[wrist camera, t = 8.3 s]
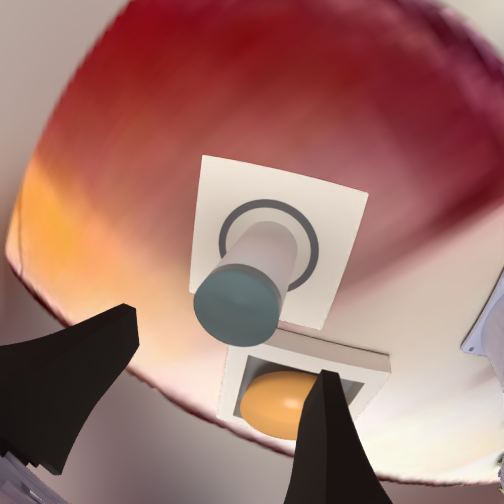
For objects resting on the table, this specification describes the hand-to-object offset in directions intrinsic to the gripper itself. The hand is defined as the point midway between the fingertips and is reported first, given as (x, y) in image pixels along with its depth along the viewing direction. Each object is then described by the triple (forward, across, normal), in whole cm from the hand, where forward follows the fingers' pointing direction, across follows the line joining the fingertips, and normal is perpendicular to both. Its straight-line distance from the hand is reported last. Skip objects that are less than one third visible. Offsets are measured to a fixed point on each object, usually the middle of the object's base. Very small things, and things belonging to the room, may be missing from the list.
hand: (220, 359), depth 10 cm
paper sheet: (+9, 0, 0) cm, 9 cm away
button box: (+9, -5, +12) cm, 16 cm away
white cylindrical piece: (+9, 0, -1) cm, 9 cm away
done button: (+8, -5, +12) cm, 15 cm away
